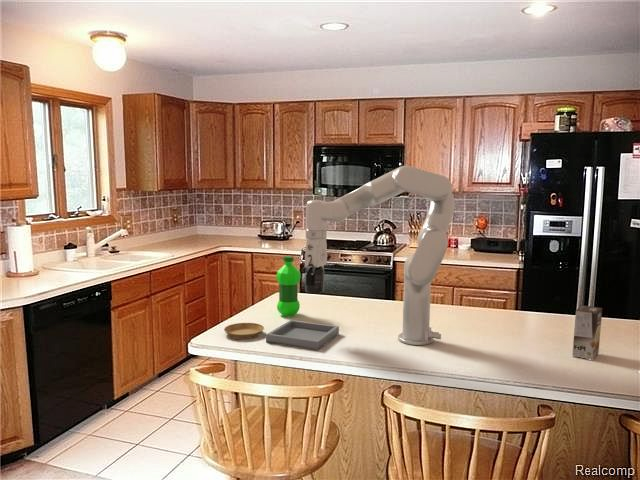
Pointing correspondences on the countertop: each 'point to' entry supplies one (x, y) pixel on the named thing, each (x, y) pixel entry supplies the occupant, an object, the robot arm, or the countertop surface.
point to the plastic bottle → (288, 288)
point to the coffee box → (587, 332)
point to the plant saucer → (244, 330)
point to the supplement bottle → (316, 281)
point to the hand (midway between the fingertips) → (314, 283)
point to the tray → (302, 334)
